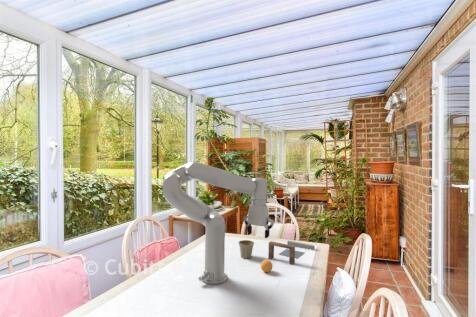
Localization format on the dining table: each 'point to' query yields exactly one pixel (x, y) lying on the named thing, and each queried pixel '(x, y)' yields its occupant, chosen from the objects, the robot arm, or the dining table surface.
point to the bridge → (290, 247)
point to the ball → (266, 266)
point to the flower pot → (246, 248)
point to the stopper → (301, 245)
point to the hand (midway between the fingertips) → (258, 235)
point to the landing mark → (286, 253)
